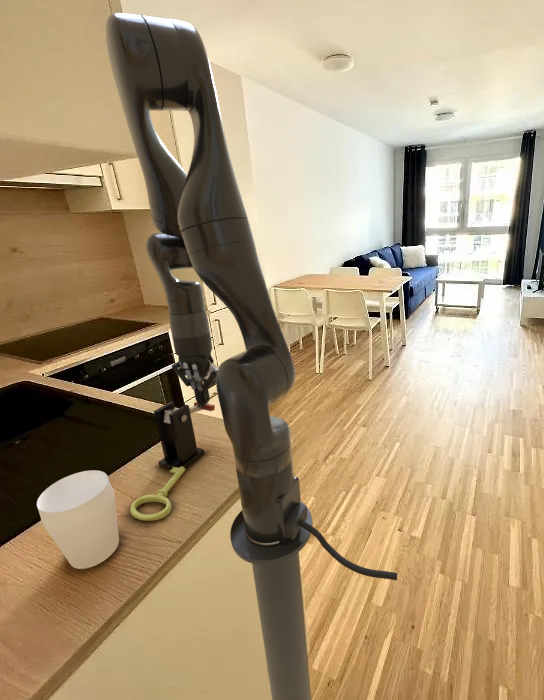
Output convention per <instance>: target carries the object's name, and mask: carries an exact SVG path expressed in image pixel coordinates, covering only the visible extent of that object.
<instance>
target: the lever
mask: <svg viewBox="0 0 544 700" xmlns="http://www.w3.org/2000/svg"><path fill="white" fill-rule="evenodd" d="M177 409H179V408H177V407H175V408H172V409H169V410H165V411H164V422H165V423H169V424H171V423H170V418H169V414H171V413H172V412H174V411H176V410H177ZM189 409H190V414H191V415H192V414H193V413H196V412H200V411H203V410H204V411H209V412H214V411H216V410H215V409H216V406H215V404H211V403H207V404H205V405H199V404H197V401H195V402H193V406H191V407H190V406H189Z"/></svg>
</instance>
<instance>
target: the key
mask: <svg viewBox="0 0 544 700" xmlns="http://www.w3.org/2000/svg"><path fill="white" fill-rule="evenodd" d="M185 471H186V469H185V468H184V467H180V468H176V467H173V468H172V470H169V473H172V474H173V475H172V476H171V477H170V479H168V481H167V482H166V483H165V485H164V486H163V487H161V488H160V489H158V490H157V494H146V495H142V496H140V497H137V498H136V499H135V500H134V501H133V502H132V503H131V505H130V509H129V510H130V514H131V516H132V517H133V518H134V519H137V520H139V521H145V522H153V521H159V520H161V519H164V518H165V517H167V516H168V515H169V514H170V512H171V511H172V502H171V501H170V500H169V499H168V494H169V493H168V492H169V491H170V490H171V489H172V488H173V486H174V485H175V484H176V482H177V481H178V480H179V478H181V476H182V475H183V474H184V472H185ZM147 503H160V504H163V505H165V507H164V509H163V510H161V511H159V512H155V513H151V514H147V513H145V514H144V513H141V512H139V511H138V510H137V509H138V508H139V507H140V506H141V505H143V504H147Z"/></svg>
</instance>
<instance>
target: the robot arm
mask: <svg viewBox="0 0 544 700" xmlns="http://www.w3.org/2000/svg"><path fill="white" fill-rule="evenodd" d="M105 43H106V47H107V55H108V59H109V63H110V67H111V73H112V75H113V79H114V83H115V86H116V89H117V93H118V96H119V99H120V100H119V101H120V103H121V107H122V110H123V113H124V117H125V121H126V123H127V124H126V125H127V127H128V131H129V134H130V137H131V141H132V144H133V146H134V147H133V148H134V149H135V153H136V155H137V158H138V162H139V166H140V168H141V171H142V174H143V179H144V182H145V188H146V193H147V198H148V204H149V210H150V215H151V221H152V224H153V226H154V227H155V229H156V230H158V232H153V233H150V235H149V236H148V237H147V239H146V242H145V250H146V254H147V257H148V259H149V261H150V262H151V265H152V266H153V268H154V270H155V272H156V274H157V276H158V278H159V280H160V283H161V285H162V288H163V291H164V295H165V299H166V305H167V309H168V317H169V326H170V332H171V338H172V343H173V347H174V353H175V355H177V357H178V358H177V359H178V361H177V362H175V363H173V364H171V368H172V369H173V371H174V372H175V373H176V375H177V376H178V377H179V379H180V380H181V381H182V383H183V384H184V385H185V386H186V387H191V390H193V393H194V398H195V402H197V404H199V405H205V404H209V402H210V400H211V398H210V391H209V389H211V388H213V387H214V386H216V392H217V399H218V402H219V407H220V411H221V416H222V420H223V425H224V429H225V432H226V435H227V437H228V439H229V440H230V442H231V445H232V450H233V457H234V464H235V471H236V472H235V473H236V478H237V484H238V491H239V498H240V506H241V511H242V512H243V518H244V524H245V526H244V528H245V534H246V537H247V538H248V540H249V541H250V542H252V543H253V544H255V545H257V546H261V547H272V546H276V545H283V546H286V545H287V544H288V542H289V540H290V539H293V540H294V539H295V537H296V535H297V534H298V532H299V530H300V529H301V527H303V528H304V529H306V530H307V531H309V532H310V533H311V535H312V536H314V538H316V539H317V541H318V542H319V543H320V545H321V546H322V548H323V549H324V550H325V551H326V552H327V553H328V554H329V555H330V556H331V557H332V558H333V559H334V560H336V561H337V562H338V563H339V564H340V565H342V566H343V567H345V568H347V569H348V570H350V571H353V572H354V573H357V574H359V575H363V576H365V577H369V578H374V579H375V578H376V579H384V580H390V581H391V580H392V581H398V572H394V571H388V570H387V571H386V570H379V569H373V568H372V569H371V568H367V567H365V566H361V565H358V564H356V563H353V562H352V561H350V560H348V559H347V558H345V557H344V556H342V555H341V554H340V553H339V552H338V551H337V550H336V549H335V548H334V547H332V545H331V544H330V543H329V542H328V541H327V540H326V538H325V536H324V535H323V534H322V533H321V532H320V530H318V529H317V528H315V527H314V526H313V525H312V526H311V525H310V524H308V523H307V522H305V520H306V519H307V508H308V505H307V504H305V503H304V504H305V505H304V504H301V502H302V498H301V483H300V478H299V477H298V476H295V472H294V459H293V448H292V447H293V446H292V435H291V427H290V425H289V424H288V422H286V420H285V419H283V418H281V417H278V416H274V415H271V414H270V408H271V407H272V406H273V405H275V404H276V403H277V402H279V401H280V400H281V399H283V398H284V397H286V396H287V395H289V393H290V392H292V389H293V388H294V386H295V383H296V368H295V364H294V360H293V358H292V357H293V356H292V353H291V352H290V349H289V346H288V344H287V342H286V341H287V340H286V338H285V335H284V333H283V331H282V328H281V325H280V323H279V320H278V318H277V315H276V312H275V309H274V307H273V303H272V300H271V297H270V293H269V290H268V287H267V284H266V280H265V277H264V273H263V270H262V267H261V264H260V263H261V262H260V260H259V256H258V251H257V247H256V243H255V239H254V236H253V232H252V228H251V224H250V221H249V217H248V214H247V211H246V207H245V205H244V201H243V198H242V194H241V192H240V188H239V185H238V181H237V178H236V174H235V171H234V166H233V163H232V159H231V156H230V151H229V147H228V143H227V138H226V134H225V129H224V124H223V119H222V115H221V109H220V104H219V100H218V94H217V90H216V86H215V80H214V76H213V71H212V67H211V63H210V59H209V56H208V53H207V52H208V51H207V49H206V46H205V44H204V41H203V39H202V37H201V34H200V32H199V31H198V30H197V28H196V27H195V26H194V25H193V24H192V23H190V22H189V21H186V20H182V19H178V18H172V17H171V18H170V17H168V18H167V17H162V16H153V15H145V14H138V13H129V12H113V13H111V14H109V15H108V17H107V19H106V22H105ZM151 111H158V112H159V111H160V112H161V111H163V112H164V111H167V112H169V111H171V112H172V111H174V112H177V111H178V112H180V111H181V112H183V111H184V112H188V114H189V116H190V119H191V122H192V123H191V124H192V129H193V149H192V154H191V161H190V163H189V168H188V172H187V173H186V171H185V170H184V168H183V166H182V165H181V164H180V163H179V162H178V160H177V159H176V158H175V156H173V154H172V153H171V152H170V150H169V149H168V148H167V147H166V144H164V143H163V141H162V139H161V138H160V137H159V135H158V133H157V131H156V128H155V126H154V123H153V120H152V116H151ZM186 269H187V270H188V269H189V270H190V269H193V270H194V272H195V273H196V275H197V276H198V277H199V279H200V280H201V281H202V282H203V284H205V286H206V287H207V288H208V289H209V290H210V291H211V292H212V293H213V294H214V295H215V297H217V298H218V299H219V300H220V301H221V302H222V304H223V305H224V306H225V307H226V308H227V309H228V310H229V312H230V313H231V314H232V316H233V318H234V319H235V322H236V324H237V326H238V328H239V331H240V333H241V336H242V339H243V343H244V347H245V350H244V351H242V352H239V353H238V354H235V355H233V356H231V357H229V358H227V359H225V360H224V361H222V362H221V364H220V365H219V366H217V365H216V364H215V360H214V358H213V357H212V350H213V342H212V336H211V329H210V323H209V318H208V314H207V310H206V306H205V299H204V293H203V287H202V285H201V283H200V282H199V281H196V280H192V279H184V278H183V279H182V278H178V277H176V276H175V275H173V272H172V271H173V270H186Z"/></svg>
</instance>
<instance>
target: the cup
mask: <svg viewBox="0 0 544 700" xmlns="http://www.w3.org/2000/svg"><path fill="white" fill-rule="evenodd" d="M36 507H37V510H38V513H39V516H40V521H41V524H42V526H43V528H44V529H45V531H46V532H47V533H48V535H49V536H50V538H51V539H52V540H53V542H54V544H55V545H56V546H57V548H58V550H59V551H60V552H61V553H62V555H63V556H64V557H65V559H66V560H67V562H68V563H69V564H70V566H71V567H72V568H74V569H77V570H85V569H90V568H92V567H95V566H97V565H99V564H101V563H103V562H104V561H106V560H107V559H108V558H109V557H110V556H112V555H113V554H114V552H115V551H116V550H117V548H118V546H119V543H120V536H119V526H118V515H117V506H116V495H115V490H114V487H113V486H112V484H111V481H110V478H109V475H108V474H107V473H106V472H104V471H101V470H94V469H93V470H83V471H80V472H76V473H72V474H70V475H68V476H65V477H63V478H61V479H59V480H57V481H56V482H54V483H52V484H51V485H50V486H48V487H47V488H46V489H45V490H44V491H42V492H41V494H40V495H39V497H38V498H37V501H36Z"/></svg>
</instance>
